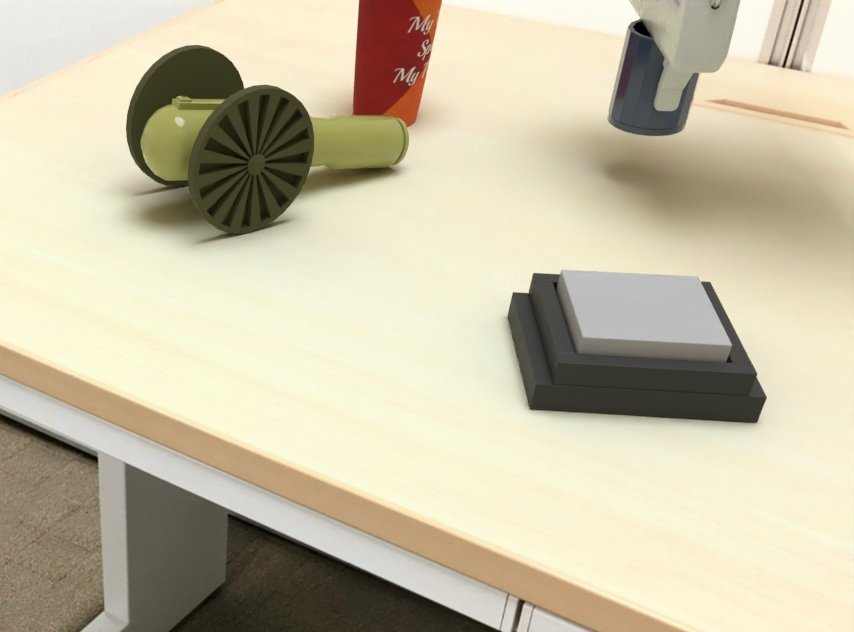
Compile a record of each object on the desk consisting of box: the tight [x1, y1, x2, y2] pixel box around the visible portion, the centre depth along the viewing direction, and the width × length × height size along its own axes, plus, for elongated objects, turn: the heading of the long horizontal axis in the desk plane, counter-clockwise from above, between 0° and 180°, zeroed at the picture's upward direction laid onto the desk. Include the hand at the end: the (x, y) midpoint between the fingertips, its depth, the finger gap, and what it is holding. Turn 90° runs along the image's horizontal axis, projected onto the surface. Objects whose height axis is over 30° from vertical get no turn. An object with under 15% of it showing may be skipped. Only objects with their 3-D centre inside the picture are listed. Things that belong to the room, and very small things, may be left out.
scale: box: [507, 272, 768, 423], centre depth 82 cm, size 14×12×4 cm
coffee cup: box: [352, 0, 443, 127], centre depth 112 cm, size 8×8×15 cm
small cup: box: [607, 18, 702, 137], centre depth 102 cm, size 6×6×8 cm
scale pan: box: [556, 269, 732, 362], centre depth 81 cm, size 9×9×2 cm
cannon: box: [125, 44, 410, 235], centre depth 101 cm, size 25×12×11 cm, turn 117°
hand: (653, 90), depth 102 cm, fingers closed on small cup, 6 cm apart
